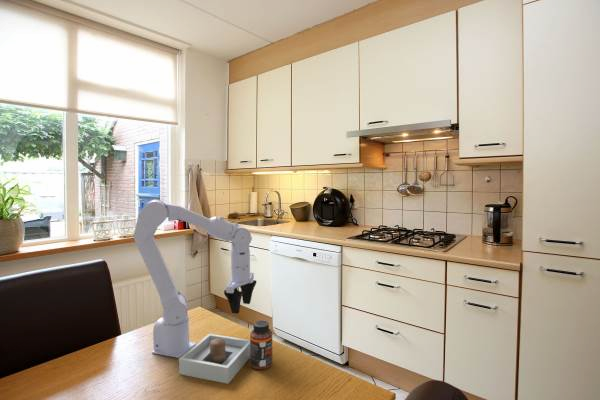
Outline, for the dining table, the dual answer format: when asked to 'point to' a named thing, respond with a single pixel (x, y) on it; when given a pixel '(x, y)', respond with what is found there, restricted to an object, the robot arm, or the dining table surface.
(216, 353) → the peg
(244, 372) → the dining table surface
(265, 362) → the supplement bottle
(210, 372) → the bore box
